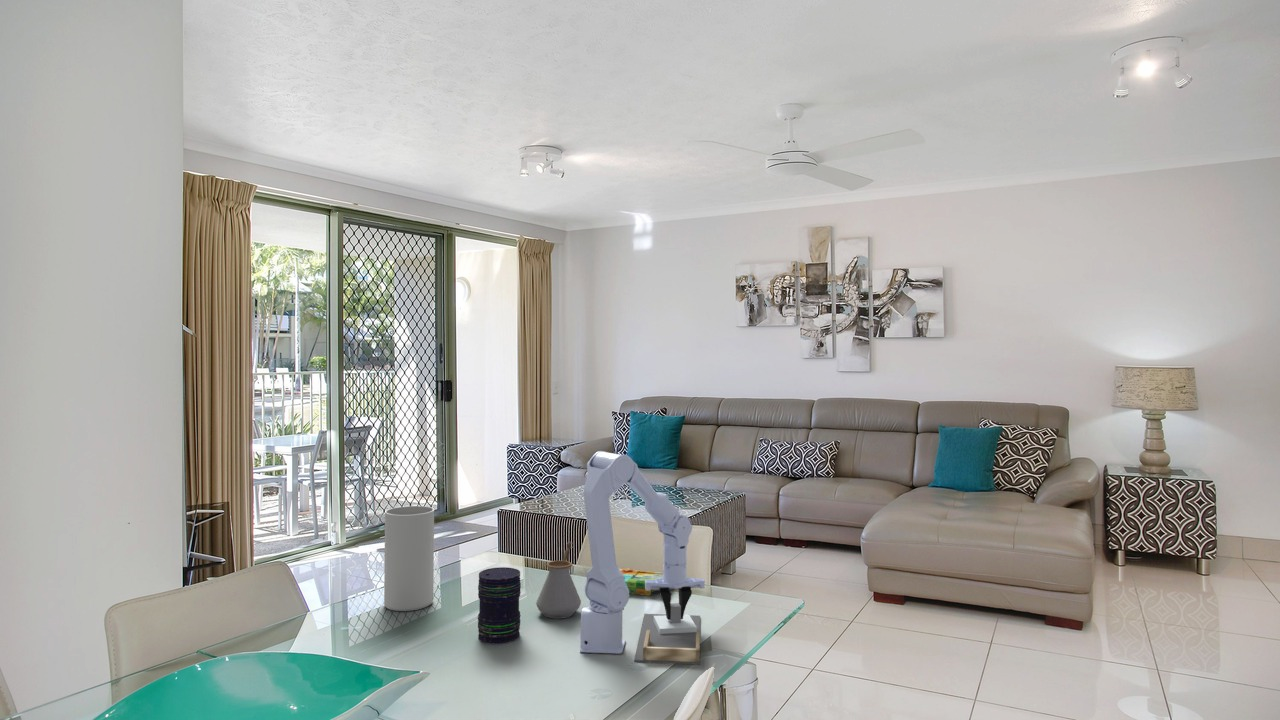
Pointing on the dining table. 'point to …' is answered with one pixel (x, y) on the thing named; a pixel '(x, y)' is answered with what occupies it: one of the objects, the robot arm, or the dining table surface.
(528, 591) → the dining table surface
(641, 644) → the rubber mat
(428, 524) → the cylinder vase
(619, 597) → the robot arm
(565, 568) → the grey faceted twig vase
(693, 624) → the cover plate
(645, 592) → the puzzle game
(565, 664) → the dining table surface
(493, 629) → the storage jar
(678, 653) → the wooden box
